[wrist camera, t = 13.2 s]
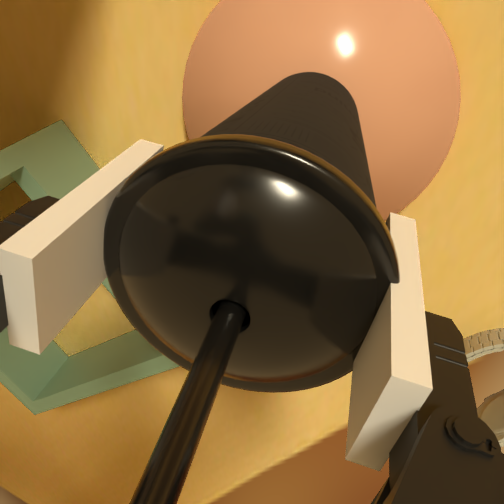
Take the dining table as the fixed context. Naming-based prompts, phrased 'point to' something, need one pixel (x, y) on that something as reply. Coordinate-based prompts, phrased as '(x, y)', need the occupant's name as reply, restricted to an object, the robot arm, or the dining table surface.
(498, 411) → the wristwatch
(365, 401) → the robot arm
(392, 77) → the saucer
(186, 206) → the drinking cup
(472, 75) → the dining table surface
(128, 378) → the frame
